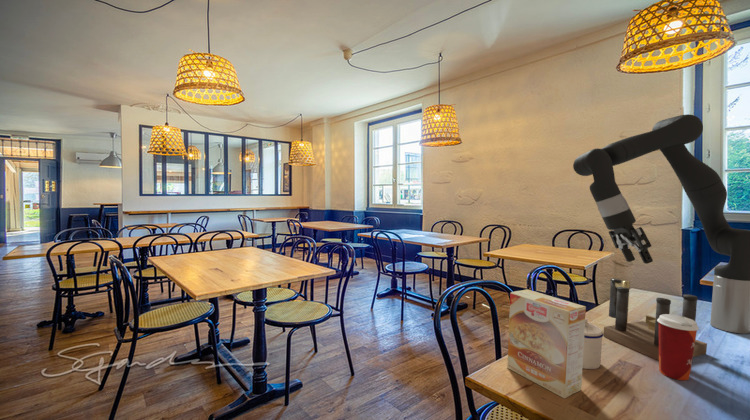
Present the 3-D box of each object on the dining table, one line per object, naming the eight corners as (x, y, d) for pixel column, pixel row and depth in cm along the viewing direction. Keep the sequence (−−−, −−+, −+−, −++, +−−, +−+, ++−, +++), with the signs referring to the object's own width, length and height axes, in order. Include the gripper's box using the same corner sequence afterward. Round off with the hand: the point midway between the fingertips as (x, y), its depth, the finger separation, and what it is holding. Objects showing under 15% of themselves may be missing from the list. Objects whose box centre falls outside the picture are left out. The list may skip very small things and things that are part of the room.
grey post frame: (607, 314, 116) (609, 273, 115) (617, 315, 115) (619, 274, 114) (619, 326, 106) (621, 281, 105) (630, 327, 105) (633, 282, 104)
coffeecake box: (506, 368, 87) (509, 292, 85) (524, 361, 90) (527, 288, 89) (564, 399, 74) (568, 311, 73) (582, 390, 77) (587, 305, 76)
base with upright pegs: (642, 329, 112) (645, 282, 111) (706, 354, 96) (710, 298, 95) (603, 336, 106) (606, 286, 105) (664, 362, 90) (668, 304, 89)
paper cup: (703, 384, 80) (707, 326, 79) (665, 380, 82) (669, 323, 81) (680, 367, 88) (684, 314, 87) (646, 364, 89) (650, 311, 89)
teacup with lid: (608, 364, 89) (610, 320, 88) (590, 374, 84) (593, 327, 84) (562, 346, 99) (564, 306, 99) (544, 353, 94) (546, 312, 94)
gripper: (641, 204, 97) (669, 258, 95) (614, 209, 111) (637, 256, 109) (615, 214, 98) (641, 268, 96) (591, 217, 112) (614, 264, 110)
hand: (639, 261), depth 102 cm, fingers open, 8 cm apart
